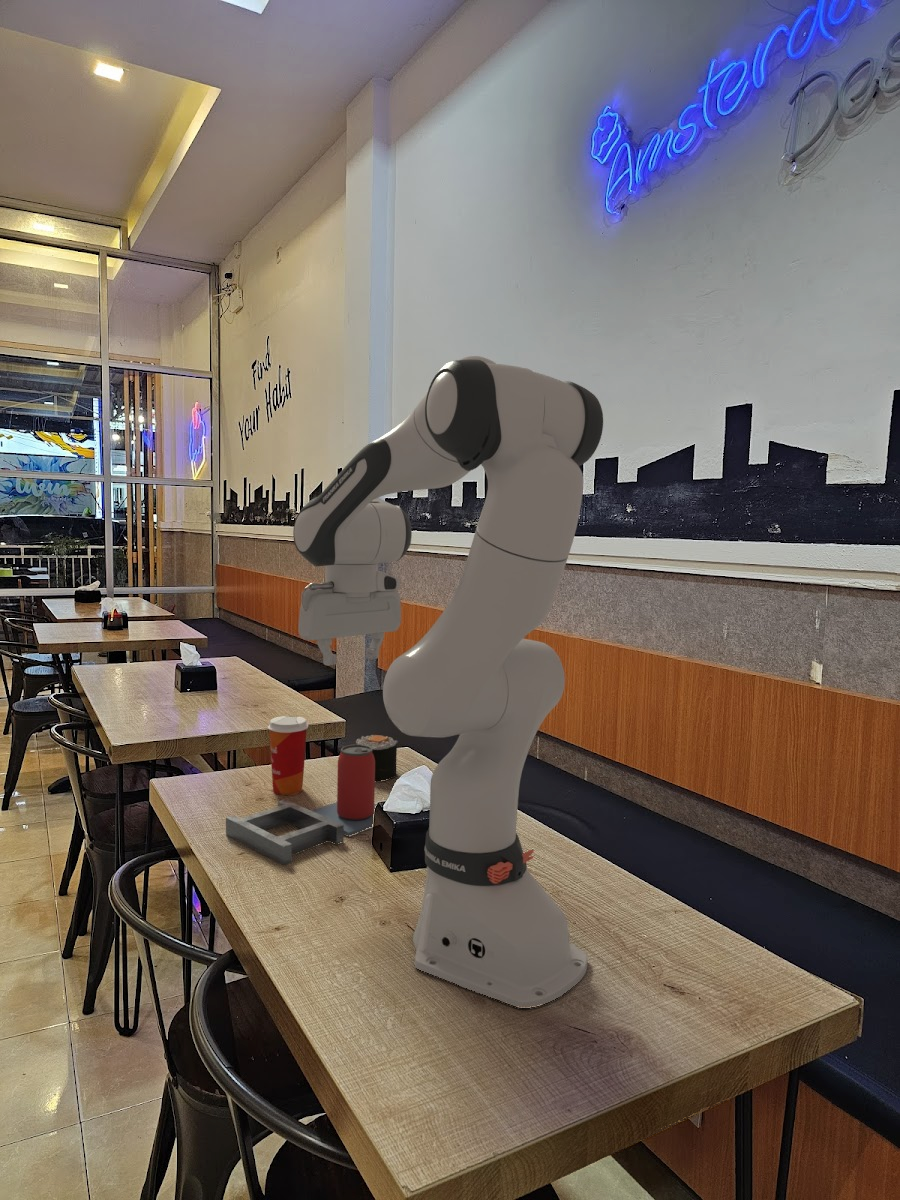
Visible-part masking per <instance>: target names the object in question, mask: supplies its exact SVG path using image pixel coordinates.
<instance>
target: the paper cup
mask: <svg viewBox="0 0 900 1200" xmlns="http://www.w3.org/2000/svg"><path fill="white" fill-rule="evenodd" d="M267 728H268V730H269V742H270V743H269V744H270V763H271V765H270V766H271V778H272V779H271V780H272V791H273V793H274V794H276V795H281V796H292V795H296V794H297V795H298V794H300V793H301V792H302V790H303V784H304V775H305V774H304V771H305V756H306V743H307V730H308V728H309V724H308V723H307V719H306V718H305V717H303V716H297V717H296V716H295V715H293V716H292V715H289V716H287V715H283V716H277V717H273V718H271V719H270V720H269V725H268V726H267Z"/></svg>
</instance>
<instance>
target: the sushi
mask: <svg viewBox="0 0 900 1200" xmlns="http://www.w3.org/2000/svg"><path fill="white" fill-rule="evenodd" d="M355 745H366V746H369V747H371V748H372V750H373V751H372V753H373V755H374V758H375V781H381V780H386V779H389V778H391V777H394V776H395V777H397V757H398V756H397V753H398V751H397V750H398V749H397V748H398V740H394V738H393V737H391V736H387V735H385V736H384V735H380V734H379V735H378V734H371V735H366V736H364V735H361V737H360V738H357V739H356V740H355ZM395 777H394V778H395ZM391 779H392V778H391ZM389 780H390V779H389Z"/></svg>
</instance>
